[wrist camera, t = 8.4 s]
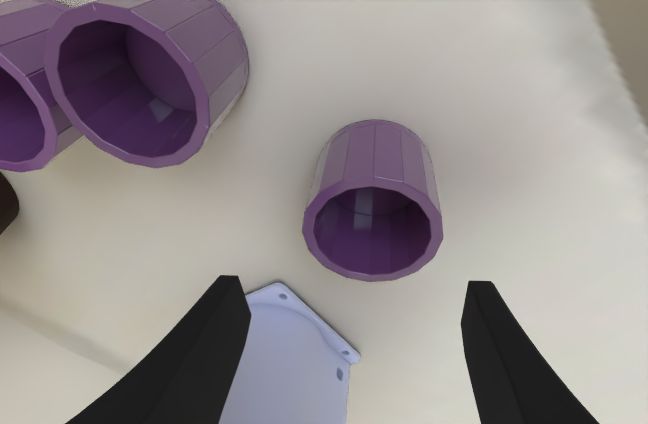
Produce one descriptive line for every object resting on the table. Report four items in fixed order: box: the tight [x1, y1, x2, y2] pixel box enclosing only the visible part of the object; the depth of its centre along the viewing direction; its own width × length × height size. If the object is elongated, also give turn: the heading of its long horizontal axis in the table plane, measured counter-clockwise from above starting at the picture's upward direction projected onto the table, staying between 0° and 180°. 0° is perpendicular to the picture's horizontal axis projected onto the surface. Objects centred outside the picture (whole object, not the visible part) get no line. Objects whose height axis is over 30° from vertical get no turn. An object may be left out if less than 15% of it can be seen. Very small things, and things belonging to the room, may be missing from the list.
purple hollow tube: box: [302, 120, 443, 282], centre depth 16 cm, size 5×5×5 cm
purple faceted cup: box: [0, 0, 85, 172], centre depth 15 cm, size 5×5×5 cm
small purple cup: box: [43, 0, 249, 168], centre depth 14 cm, size 5×5×5 cm
